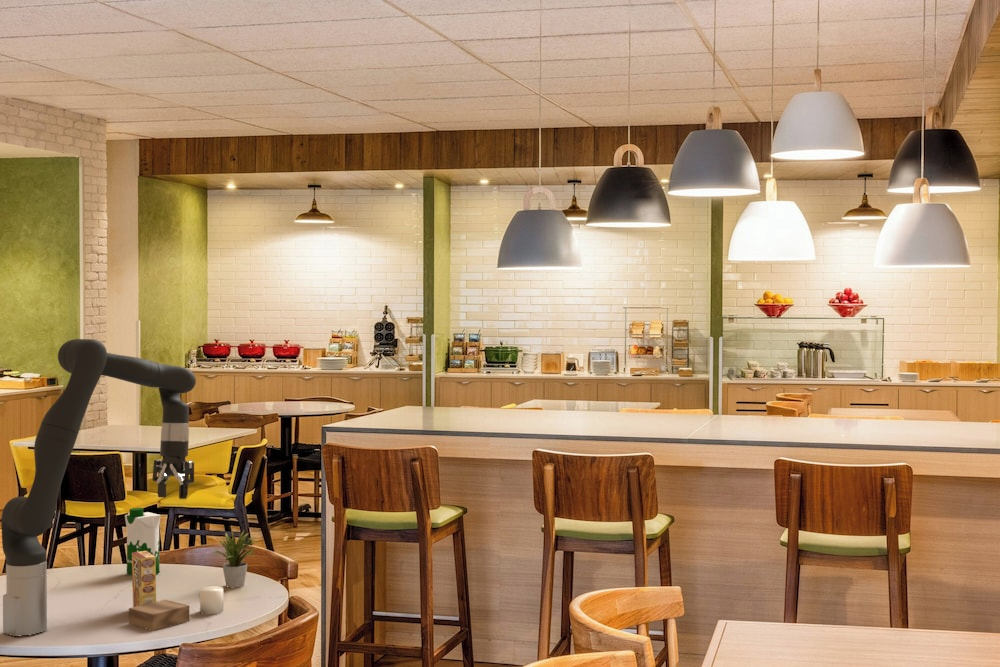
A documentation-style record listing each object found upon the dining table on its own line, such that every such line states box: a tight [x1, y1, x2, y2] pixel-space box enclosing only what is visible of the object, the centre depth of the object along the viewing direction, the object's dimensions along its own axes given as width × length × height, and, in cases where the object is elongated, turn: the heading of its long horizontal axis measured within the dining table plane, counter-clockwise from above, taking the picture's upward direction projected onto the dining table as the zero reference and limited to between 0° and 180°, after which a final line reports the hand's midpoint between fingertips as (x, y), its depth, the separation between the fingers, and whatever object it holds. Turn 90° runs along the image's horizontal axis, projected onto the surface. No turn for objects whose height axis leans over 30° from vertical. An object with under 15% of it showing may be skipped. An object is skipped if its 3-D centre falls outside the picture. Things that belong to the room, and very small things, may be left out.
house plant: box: [212, 529, 263, 588], centre depth 326 cm, size 14×14×16 cm
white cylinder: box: [199, 585, 224, 615], centre depth 299 cm, size 6×6×6 cm
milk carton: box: [124, 507, 162, 576], centre depth 342 cm, size 9×9×20 cm
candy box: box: [131, 551, 157, 607], centre depth 299 cm, size 9×4×15 cm, turn 33°
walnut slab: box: [128, 599, 190, 631], centre depth 288 cm, size 11×10×4 cm
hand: (172, 498), depth 314 cm, fingers open, 8 cm apart
